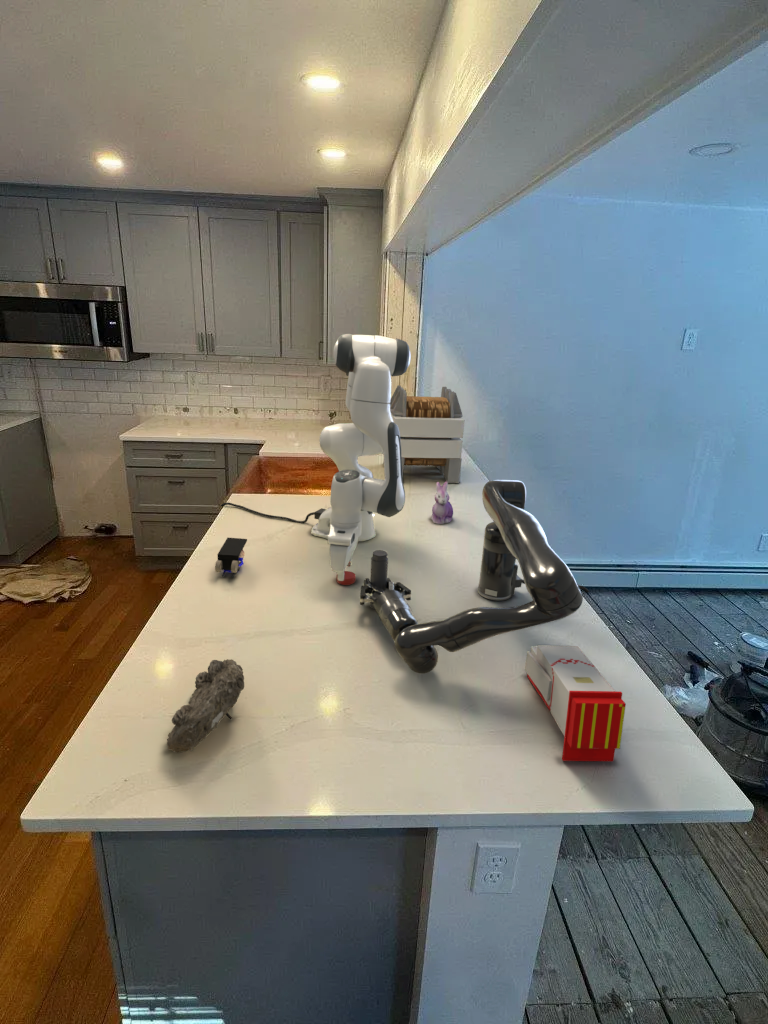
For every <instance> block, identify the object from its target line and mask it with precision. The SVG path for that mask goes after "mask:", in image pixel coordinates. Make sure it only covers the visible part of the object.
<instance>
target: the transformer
mask: <svg viewBox="0 0 768 1024" xmlns="http://www.w3.org/2000/svg"><path fill="white" fill-rule="evenodd" d="M440 393H441V394H440V396H415V395H414V396H413V395H412V396H411V395H407V394H408V393H407V390H406V389H404V388H403V387H402V385H399V384H398V385H397V386H396V388H395V390H394V392H393V394H392V395H391V403H390V411H391V416H392V419H393V422H394V423H395V424H396V425H397V426H398V428H399V432H400V440H401V456H402V476H403V475H404V469H405V466H406V467H407V466H411V467H412V466H413V467H415V466H416V467H417V466H418V467H436V468H437V470H438V469H439V473H440V474H441V475H443V478H444V479H445V482H446V481H447V482H448V484H455V483H456V484H459V483H461V472H462V461H463V460H462V453H463V442H464V441H463V440H462V439H463V438H464V431H465V430H464V429H465V419H464V418H463V411H462V408H461V405H460V402H459V398H458V395H457V392H455V391H453V390H452V389H451V388H447V386H442V387H441V392H440ZM383 465H384V462H383Z"/></svg>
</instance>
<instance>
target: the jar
mask: <svg viewBox="0 0 768 1024" xmlns="http://www.w3.org/2000/svg"><path fill="white" fill-rule="evenodd" d="M388 554H389V553H388V552H387V551H386V550H383V549H376V550H373V551H372V556H371V558H370V578H369V580H370V582H371V583H372V585H373V586H377V587H378V588H379V589H387V578H388V569H389V567H388V566H389V558H388ZM369 597H371V596H370V595H369ZM368 604H369V607H370V608H371V609H373V610H376V609H375V607H374V605H372V604H371V603H370V602H368Z"/></svg>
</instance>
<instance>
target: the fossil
mask: <svg viewBox="0 0 768 1024" xmlns="http://www.w3.org/2000/svg"><path fill="white" fill-rule="evenodd" d="M243 670H244V669H243V667H242V665H240V664H237V662H236V661H235V660H234V659H232V658H231V659H227V658H226V659H224V660H223V661H222V660H217V659H212V660H211V661H210V663H209V665H208V666H207V671H201V672H199V673H198V674H197V675H196V676H195V680H194V684H195V685H194V687H195V689H194V690H193V693H192V694H191V697H190V698H189V700H188V704H184V705H182V706H181V707H180V709H177V710H176V711H175V713H174V715H173V716H172V718H171V723H172V724H173V727H172V730H171V731H170V732H168V734H167V738H166V741H167V742H166V745H167V749H168V750H169V751H173V752H174V753H176V754H178V753H182V752H188V751H189V752H192V751H193V750H195V748H196V747H197V746H199V744H200V743H201V742H203V741H204V740H205V739H206V738H207V737H208V736H209V735H210V734H211V733H212V732H214V730H215V729H217V727H218V726H219V724H220V722H221V721H222V720H223V719H224V718H225V716H226V717H227V719H229V720H233V717H232V715H230V714H229V710H230V709H231V708H234V706H235V704H236V703H237V702H238V699H239V697H240V695H241V693H242V691H243V690H245V689H244V688H245V675H244V671H243Z"/></svg>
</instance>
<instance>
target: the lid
mask: <svg viewBox="0 0 768 1024" xmlns="http://www.w3.org/2000/svg"><path fill="white" fill-rule="evenodd" d="M344 573H345V578H344V580H343V581H338V579H337V577H338V575H337V574H336V578H335V579H336V582H337V584H338V585H343V586H350V585H354V584H355V583H356V578H357V577H356V573H354V572H353V571H351V570H345V571H344Z"/></svg>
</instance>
